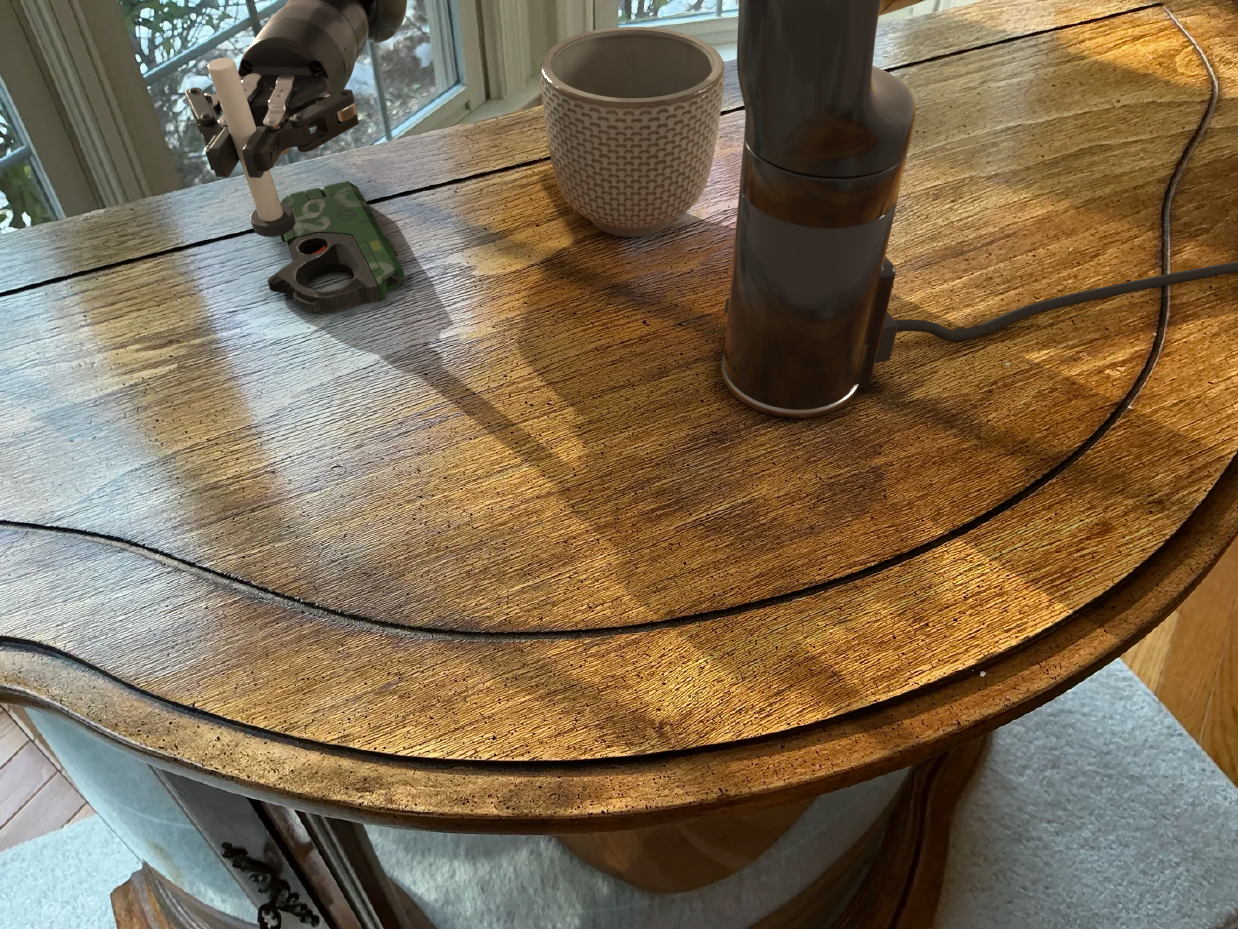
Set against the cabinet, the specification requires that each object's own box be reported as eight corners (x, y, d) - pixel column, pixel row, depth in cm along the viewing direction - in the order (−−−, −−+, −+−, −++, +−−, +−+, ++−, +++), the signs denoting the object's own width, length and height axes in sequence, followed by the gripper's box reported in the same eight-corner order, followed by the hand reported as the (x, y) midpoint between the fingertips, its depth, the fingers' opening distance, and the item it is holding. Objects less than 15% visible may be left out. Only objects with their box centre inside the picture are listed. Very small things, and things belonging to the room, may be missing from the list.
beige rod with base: (291, 208, 77) (241, 48, 68) (299, 231, 76) (248, 69, 66) (250, 218, 77) (193, 57, 67) (257, 241, 75) (199, 79, 65)
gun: (238, 203, 81) (357, 177, 84) (243, 219, 82) (360, 192, 85) (278, 310, 71) (412, 275, 74) (283, 326, 72) (415, 291, 75)
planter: (577, 165, 89) (571, 17, 79) (729, 186, 86) (741, 35, 77) (525, 247, 79) (512, 90, 70) (694, 273, 76) (704, 113, 67)
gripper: (206, 14, 79) (117, 112, 66) (376, 16, 78) (319, 115, 66) (232, 105, 84) (155, 212, 72) (392, 107, 83) (342, 215, 71)
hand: (234, 165), depth 69 cm, fingers closed on beige rod with base, 2 cm apart
